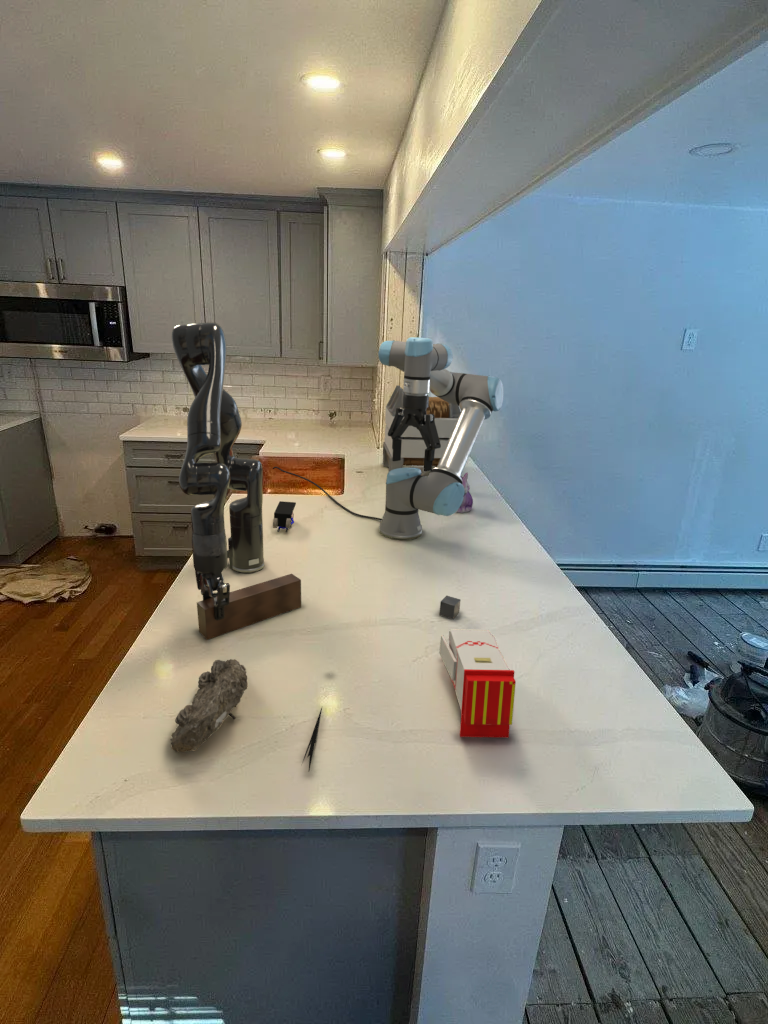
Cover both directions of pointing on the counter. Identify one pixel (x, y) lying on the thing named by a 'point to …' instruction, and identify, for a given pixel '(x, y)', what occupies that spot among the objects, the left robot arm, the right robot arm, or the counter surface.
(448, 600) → the slate cube
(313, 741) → the feather
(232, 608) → the walnut bar
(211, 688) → the fossil
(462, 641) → the toy
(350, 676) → the counter surface
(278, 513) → the figurine character
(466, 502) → the figurine
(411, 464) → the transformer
